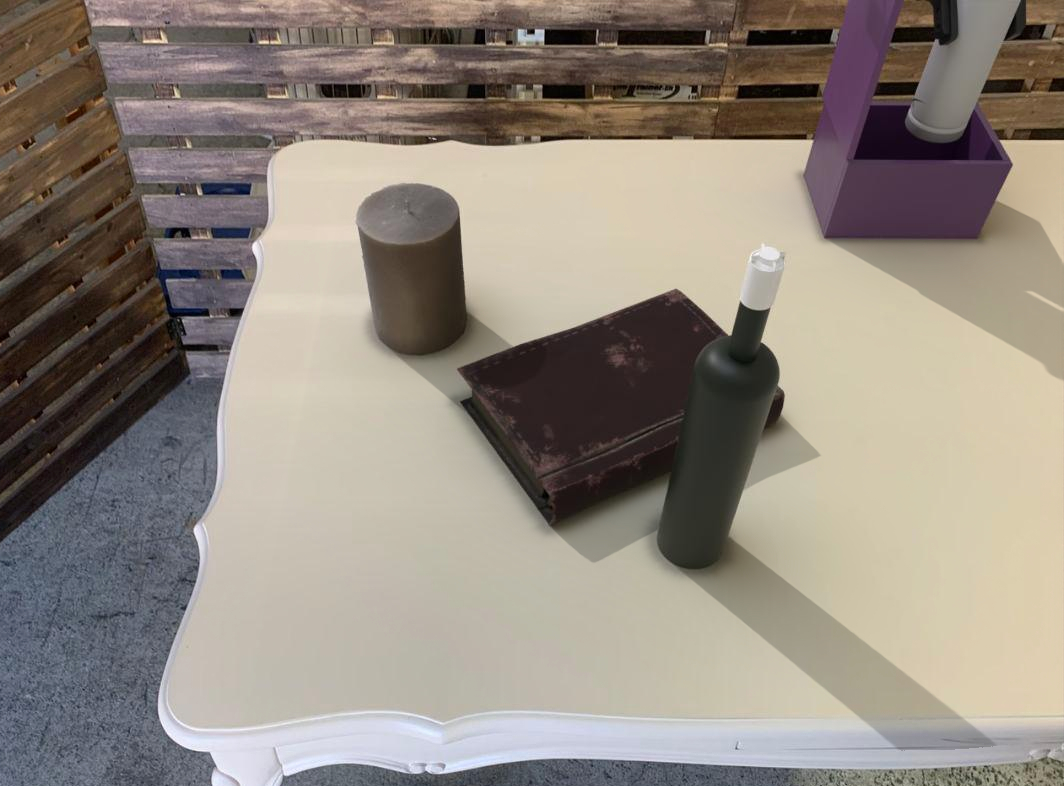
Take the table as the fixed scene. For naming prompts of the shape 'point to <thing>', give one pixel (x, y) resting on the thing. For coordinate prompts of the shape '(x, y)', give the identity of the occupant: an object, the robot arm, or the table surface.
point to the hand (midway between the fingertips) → (980, 39)
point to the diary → (594, 402)
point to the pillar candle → (414, 267)
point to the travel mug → (959, 71)
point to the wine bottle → (722, 424)
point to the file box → (905, 179)
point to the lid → (858, 66)
